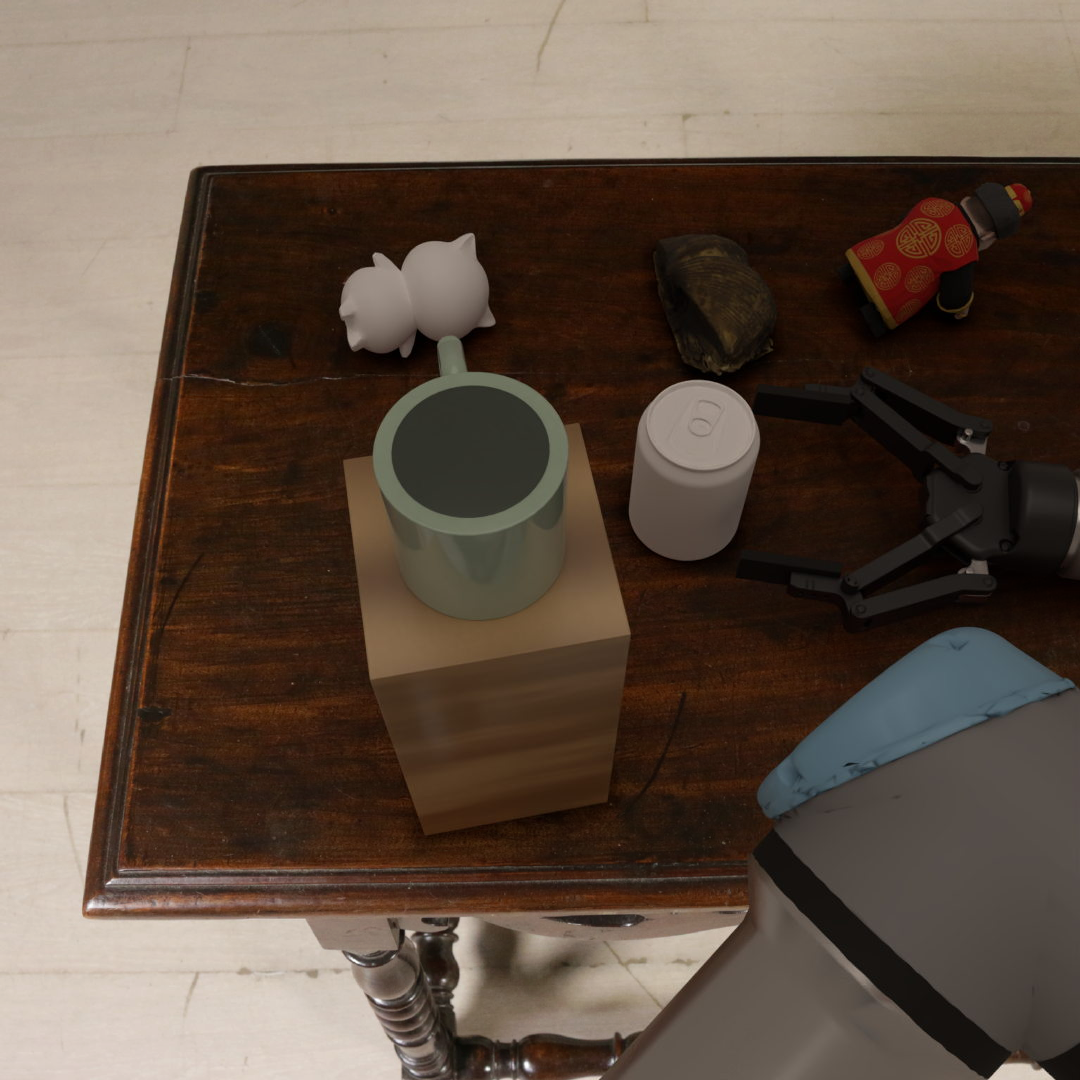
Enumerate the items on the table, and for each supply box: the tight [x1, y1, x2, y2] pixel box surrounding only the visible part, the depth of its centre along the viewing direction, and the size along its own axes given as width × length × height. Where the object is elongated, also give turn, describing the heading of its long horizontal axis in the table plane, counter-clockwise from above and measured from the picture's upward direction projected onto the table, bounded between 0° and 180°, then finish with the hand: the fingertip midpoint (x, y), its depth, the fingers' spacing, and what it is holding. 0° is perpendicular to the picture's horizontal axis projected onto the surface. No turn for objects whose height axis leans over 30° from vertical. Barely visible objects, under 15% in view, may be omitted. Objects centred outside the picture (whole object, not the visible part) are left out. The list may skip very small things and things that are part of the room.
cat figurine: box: [338, 232, 497, 359], centre depth 93 cm, size 9×11×12 cm
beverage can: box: [628, 379, 761, 562], centre depth 81 cm, size 8×8×12 cm
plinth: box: [342, 422, 632, 837], centre depth 67 cm, size 12×12×26 cm
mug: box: [372, 335, 569, 620], centre depth 53 cm, size 12×8×8 cm
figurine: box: [835, 181, 1033, 339], centre depth 93 cm, size 10×10×15 cm
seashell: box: [652, 233, 778, 376], centre depth 93 cm, size 16×9×7 cm, turn 14°
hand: (746, 477), depth 81 cm, fingers open, 13 cm apart
